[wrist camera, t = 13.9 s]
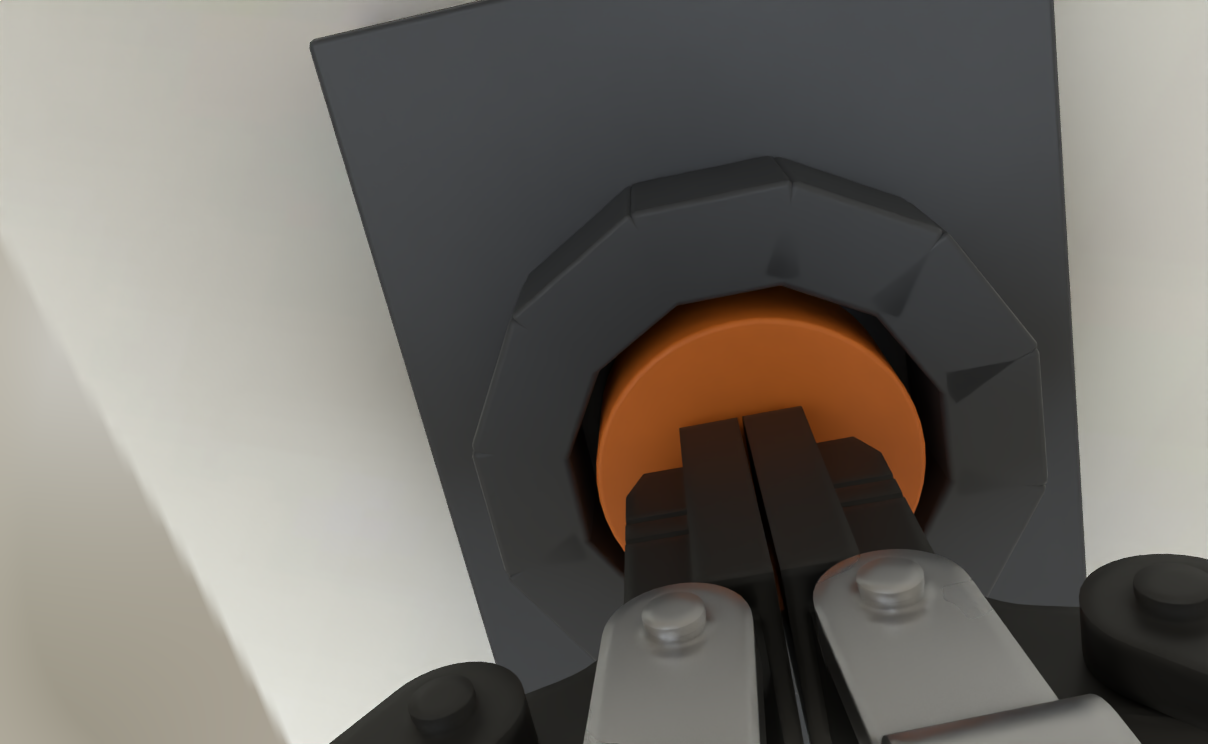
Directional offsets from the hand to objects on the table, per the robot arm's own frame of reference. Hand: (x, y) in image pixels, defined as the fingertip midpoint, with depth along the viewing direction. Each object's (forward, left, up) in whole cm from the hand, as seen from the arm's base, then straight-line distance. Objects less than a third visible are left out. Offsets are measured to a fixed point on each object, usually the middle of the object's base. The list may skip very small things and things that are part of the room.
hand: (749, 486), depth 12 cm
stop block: (0, 0, -4) cm, 4 cm away
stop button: (0, 0, -2) cm, 2 cm away
